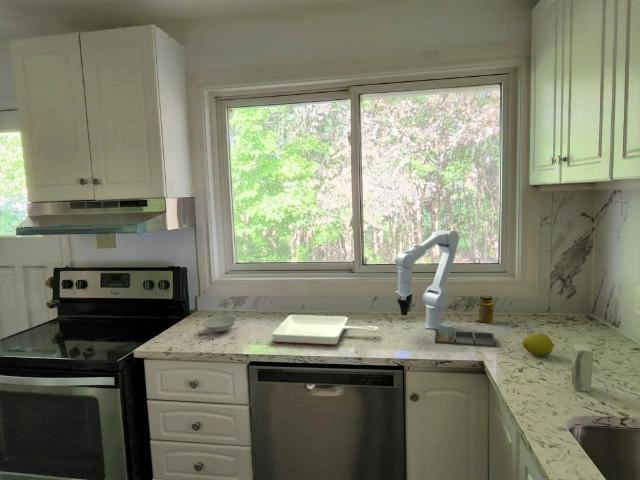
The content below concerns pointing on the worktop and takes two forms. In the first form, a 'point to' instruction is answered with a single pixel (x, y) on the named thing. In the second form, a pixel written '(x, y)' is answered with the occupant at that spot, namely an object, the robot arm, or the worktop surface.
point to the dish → (220, 323)
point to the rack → (468, 338)
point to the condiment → (485, 311)
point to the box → (582, 368)
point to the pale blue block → (445, 331)
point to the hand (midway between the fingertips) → (405, 312)
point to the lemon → (538, 345)
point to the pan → (313, 330)
